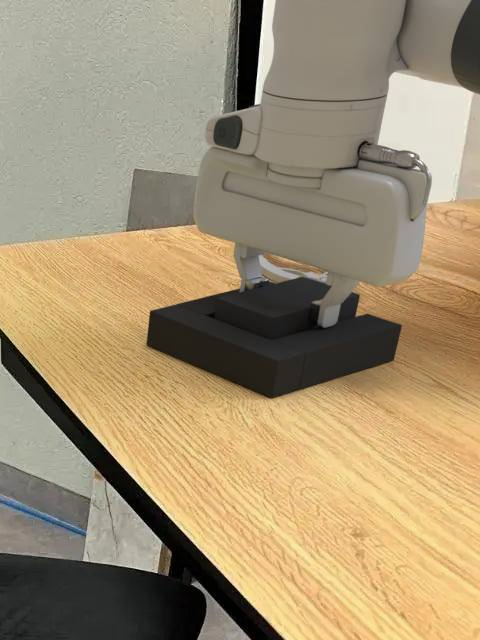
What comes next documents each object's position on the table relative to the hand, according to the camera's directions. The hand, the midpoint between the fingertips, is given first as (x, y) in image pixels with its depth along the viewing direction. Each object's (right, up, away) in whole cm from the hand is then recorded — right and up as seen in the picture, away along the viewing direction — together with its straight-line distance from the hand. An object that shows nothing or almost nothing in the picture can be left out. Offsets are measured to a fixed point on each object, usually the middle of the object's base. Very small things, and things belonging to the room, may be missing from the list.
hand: (285, 311), depth 94 cm
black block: (0, -1, +1) cm, 2 cm away
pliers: (+8, +6, +16) cm, 19 cm away
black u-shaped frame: (-1, -3, +1) cm, 4 cm away
